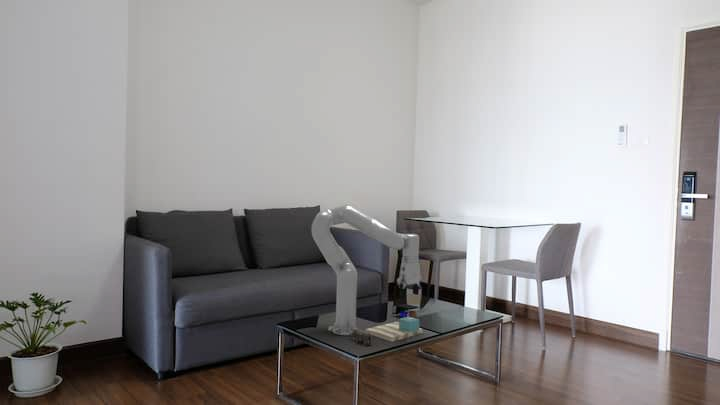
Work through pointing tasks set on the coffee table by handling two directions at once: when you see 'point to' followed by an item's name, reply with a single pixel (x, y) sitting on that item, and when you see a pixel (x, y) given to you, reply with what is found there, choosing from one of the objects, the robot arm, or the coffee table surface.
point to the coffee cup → (413, 297)
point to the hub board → (391, 332)
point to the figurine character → (401, 310)
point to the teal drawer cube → (409, 324)
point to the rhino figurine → (361, 336)
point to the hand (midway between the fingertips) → (409, 295)
